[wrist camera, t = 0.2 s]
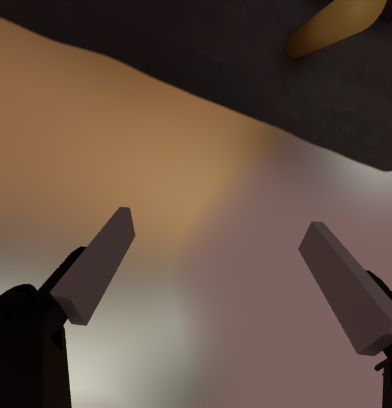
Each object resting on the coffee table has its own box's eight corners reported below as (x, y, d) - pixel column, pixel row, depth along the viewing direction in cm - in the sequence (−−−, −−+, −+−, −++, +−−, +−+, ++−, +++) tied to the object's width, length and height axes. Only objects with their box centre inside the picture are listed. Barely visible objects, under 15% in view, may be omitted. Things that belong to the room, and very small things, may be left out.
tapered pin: (289, 28, 27) (352, -26, 15) (314, 28, 26) (397, -27, 15) (283, 58, 29) (334, 32, 17) (306, 58, 28) (373, 32, 17)
